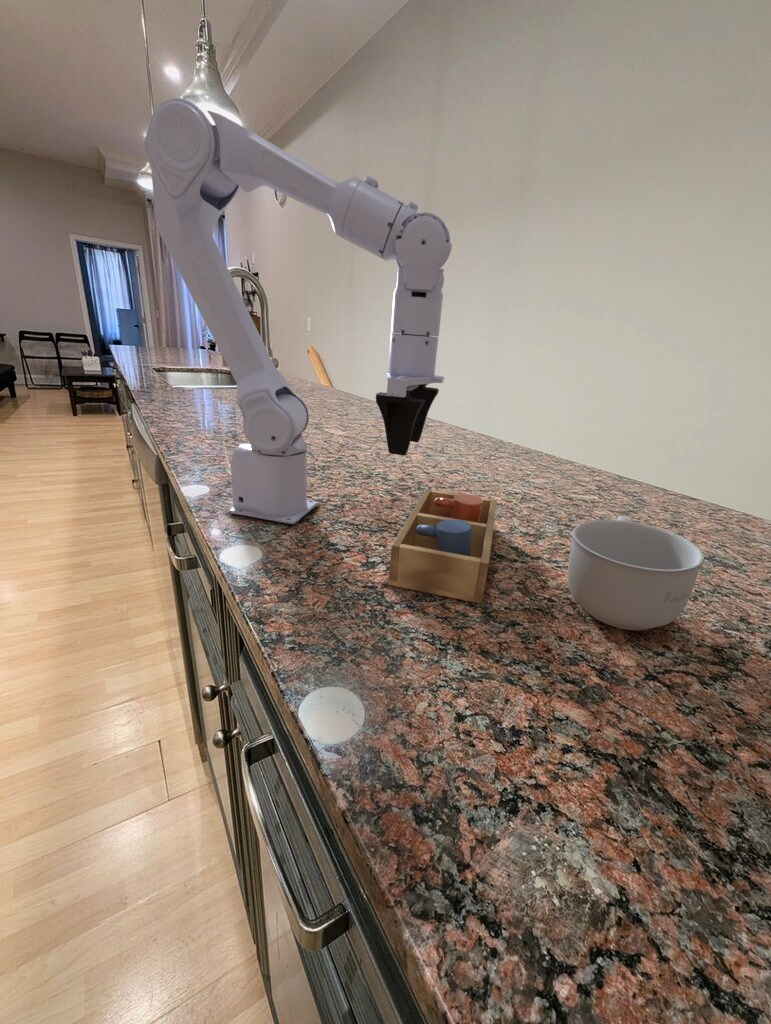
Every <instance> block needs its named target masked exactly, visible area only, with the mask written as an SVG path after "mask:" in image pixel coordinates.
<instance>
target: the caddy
mask: <svg viewBox="0 0 771 1024" xmlns="http://www.w3.org/2000/svg"><path fill="white" fill-rule="evenodd" d="M456 495H460V493H453V492H448V491H441V490H434V489H426V488H425V490H424V491H423V493H422V494H421V496H420V498H419V499H418V500H417V503H416V504H415V506H414V508H413V509H412V511H411V513H410V514H409V516H408V518H407V519H406V521H405V523H404V524H403V526H402V527H401V529H400V531H399V532H398V534H397V535H396V538H395V539H394V540H393V542H392V544H391V547H390V558H389V559H390V560H389V574H388V585H389V586H392V587H393V586H394V587H398V588H401V589H408V590H412V591H417V592H422V593H426V594H431V595H437V596H442V597H445V598H449V599H456V600H461V601H465V602H470V603H475V604H479V605H482V604H483V601H484V595H485V589H486V582H487V577H488V571H489V566H490V560H491V559H490V558H491V552H492V551H491V550H492V544H493V537H494V536H493V535H494V529H495V521H496V520H495V519H496V511H497V504H498V499H493V498H487V497H481V496H478V497H479V498H481V499H482V500H483V507H482V513H481V519H480V523H477V522H471V521H465V520H462V521H465V522H467V523H469V524H470V525H471V545H470V556H465V555H460V554H454V553H449V552H443V551H438V550H437V538H435V537H428V536H421V535H418V534H417V533H416V528H417V526H418V525H429V526H436V527H437V524H438V523H439V522H441V521H444V520H459V519H453V518H451V515H452V509H449V508H443V507H437V506H435V504H434V500H435V499H436V498H437V497H441V498H447V499H453V500H454V497H455V496H456Z"/></svg>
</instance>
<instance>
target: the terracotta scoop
mask: <svg viewBox="0 0 771 1024" xmlns="http://www.w3.org/2000/svg"><path fill="white" fill-rule="evenodd" d="M459 494H460V493H459ZM479 497H480V496H477V495H474V494H467V493H465V494H464V493H461V494H460V495H456V496H455V497H454V500H453V499H447V498H441V497H437V498H436V499H435V500H434V504H435V506H437V507H443V508H449V509H452V515H451V518H453V519H459V520H465V521H471V522H477V523H480V519H481V513H482V507H483V500H482V499H481V498H482V497H481V498H479Z"/></svg>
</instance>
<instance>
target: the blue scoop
mask: <svg viewBox="0 0 771 1024" xmlns="http://www.w3.org/2000/svg"><path fill="white" fill-rule="evenodd" d="M416 533H417V534H418V535H421V536H428V537H435V538H437V550H438V551H443V552H449V553H454V554H460V555H465V556H470V545H471V525H470V524H469V523H467V522H465V521H462V520H444V521H441V522H439V523H438V524H437V527H436V526H429V525H418V526H417V528H416Z"/></svg>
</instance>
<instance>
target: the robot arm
mask: <svg viewBox="0 0 771 1024" xmlns="http://www.w3.org/2000/svg"><path fill="white" fill-rule="evenodd" d="M207 113H208V114H209V116H210V117H211V119H212V120H213V122H214V124H212V123H211V122H210V120H209V119H208V117H207V116H206V115H205V113H204V112H203V110H202V109H201V108H199V106H197V104H195V103H194V102H192V101H190V100H187V99H185V98H180V97H172V98H168V99H165V100H164V101H162V102H160V104H158V106H157V107H156V108H155V109H154V111H153V113H152V115H151V118H150V120H149V123H148V127H147V131H146V134H145V137H144V141H143V143H142V149H143V152H144V154H145V157H146V160H147V162H148V165H149V167H150V172H151V182H152V192H153V193H152V195H153V203H154V204H153V205H154V216H155V224H156V228H157V231H158V233H159V236H160V238H161V240H162V242H163V243H164V245H165V247H166V249H167V251H168V253H169V255H170V257H171V259H172V261H173V263H174V265H175V266H176V268H177V270H178V272H179V274H180V276H181V279H182V280H183V283H184V284H185V286H186V288H187V290H188V292H189V295H190V296H191V298H192V299H193V302H194V304H195V306H196V307H197V310H198V312H199V313H200V315H201V318H202V319H203V321H204V323H205V325H206V327H207V328H208V331H209V332H210V335H211V337H212V338H213V340H214V342H215V344H216V346H217V348H218V350H219V353H220V354H221V355H222V358H223V360H224V362H225V364H226V365H227V368H228V369H229V371H230V374H231V375H232V378H233V379H234V381H235V383H236V404H237V406H238V408H239V410H240V413H241V415H242V426H243V432H244V435H245V437H246V439H247V441H248V442H249V443H241V444H240V445H239V446H238V447H237V448H236V449H235V450H234V451H233V452H234V453H233V455H232V458H231V464H230V475H231V489H232V504H233V507H232V508H230V514H234V515H239V516H244V517H245V516H246V517H249V518H256V519H260V520H266V521H272V522H277V523H283V524H289V525H295V524H296V523H297V522H299V521H300V520H301V519H302V518H304V517H305V516H306V515H307V514H308V513H309V512H311V511H312V510H313V509H314V508H316V507H317V506H318V501H317V500H312V499H308V497H307V496H308V493H307V492H308V491H307V490H308V487H307V486H308V484H307V483H308V482H307V481H308V470H307V469H308V468H307V467H308V465H307V464H308V461H307V460H308V457H307V456H308V454H307V453H308V450H307V449H308V445H307V443H306V442H305V440H304V437H303V435H302V434H303V432H305V430H306V429H307V428H308V425H309V422H310V412H309V408H308V406H307V404H306V402H305V401H304V400H303V399H302V398H301V397H300V396H299V395H297V394H296V392H294V390H292V388H291V386H290V383H289V382H288V380H287V379H286V377H285V376H284V375H283V374H282V373H281V372H280V371H279V370H278V368H276V366H275V364H274V362H273V360H272V358H271V356H270V353H269V351H268V349H267V347H266V345H265V343H264V341H263V339H262V337H261V335H260V332H259V331H258V329H257V326H256V324H255V322H254V320H253V318H252V316H251V313H250V312H249V310H248V308H247V306H246V303H245V301H244V299H243V297H242V295H241V293H240V290H239V288H238V287H237V284H236V283H235V280H234V278H233V275H232V274H231V272H230V270H229V268H228V265H227V263H226V262H225V260H224V257H223V255H222V253H221V251H220V250H219V246H218V245H217V243H216V241H215V239H214V232H215V229H216V227H217V225H218V222H219V218H220V217H221V215H222V214H223V213H224V211H225V210H226V209H227V207H228V206H229V205H230V204H231V202H232V201H233V200H234V198H235V197H236V196H237V195H238V193H239V191H240V189H242V190H243V191H244V192H245V193H246V194H248V193H252V192H253V191H255V190H257V189H259V188H261V187H263V186H264V187H268V188H270V189H271V190H274V191H275V192H278V193H280V194H281V195H284V196H286V197H288V198H291V199H292V200H295V201H296V202H297V203H298V202H299V203H301V204H302V205H304V206H307V207H308V208H311V209H313V210H315V211H317V212H319V213H322V214H323V215H325V216H328V219H329V220H330V223H331V226H332V229H333V232H334V234H335V236H338V237H339V238H341V239H343V240H346V241H347V242H349V243H352V244H353V245H355V246H357V247H359V248H361V249H362V250H364V251H366V252H369V253H370V254H372V255H374V256H376V257H378V258H380V259H382V260H384V261H386V262H387V261H391V260H393V261H396V264H397V273H396V274H397V275H396V287H395V289H394V290H393V293H392V294H393V297H392V308H391V324H390V326H391V327H390V337H389V353H388V367H387V368H388V369H387V371H386V374H385V379H386V380H387V385H386V392H382V391H380V392H377V393H376V394H375V403H376V405H377V407H378V409H379V411H380V414H381V417H382V420H383V425H384V429H385V437H386V444H387V450H388V453H389V454H391V455H396V456H397V455H398V456H406V455H407V454H408V451H409V448H410V445H411V442H412V443H413V442H414V443H418V442H420V439H421V437H422V434H423V430H424V428H425V424H426V420H427V418H428V417H427V416H428V414H429V412H430V409H431V407H432V404H433V402H434V400H435V399H436V397H437V396H438V395H439V391H440V390H439V388H437V387H431V386H430V387H429V385H431V384H442V383H445V376H443V375H437V374H436V373H435V372H436V366H437V365H436V364H437V356H438V347H439V336H440V328H441V319H442V311H443V310H442V309H443V300H444V293H443V292H442V290H443V287H444V283H445V275H444V271H445V270H444V268H442V267H444V265H445V264H446V262H447V261H448V259H449V257H450V255H451V252H452V248H453V244H452V243H451V237H450V233H449V229H448V227H447V226H446V224H445V222H444V221H443V219H442V218H440V217H439V216H438V215H436V214H434V213H431V212H427V211H426V212H425V211H423V212H421V213H420V212H418V211H419V205H418V203H416V202H414V201H412V200H410V201H409V202H408V204H407V203H405V202H403V201H401V200H399V199H397V198H395V197H393V196H392V195H390V194H388V193H387V192H385V191H383V190H381V189H379V182H378V180H377V179H376V178H374V177H372V176H370V175H366V177H365V179H364V180H362V179H361V178H360V177H357V176H353V177H349V178H347V179H345V180H342V181H338V182H337V181H336V180H334V179H333V178H330V177H329V176H327V175H326V174H324V173H322V172H321V171H319V170H317V169H315V168H314V167H313V166H310V165H309V164H307V163H306V162H304V161H302V160H301V159H299V158H297V157H295V156H294V155H292V154H290V153H288V152H287V151H286V150H283V149H282V148H280V147H278V146H277V145H275V144H273V143H272V142H270V141H268V140H267V139H266V138H263V137H262V136H260V135H258V134H257V133H255V132H254V131H251V130H250V129H248V128H246V127H244V126H242V125H241V124H239V123H237V122H235V121H233V120H232V119H229V118H227V117H226V116H224V115H223V114H220V113H217V112H214V111H211V110H207Z"/></svg>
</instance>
